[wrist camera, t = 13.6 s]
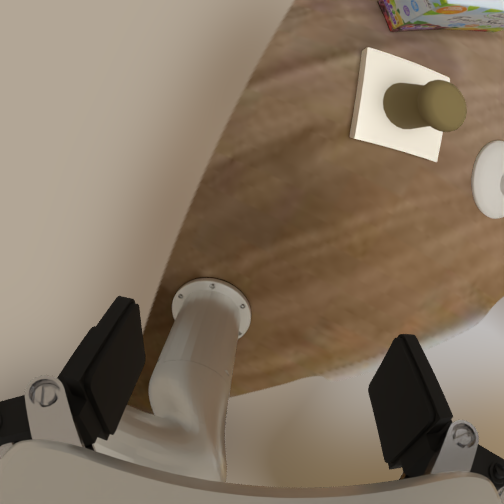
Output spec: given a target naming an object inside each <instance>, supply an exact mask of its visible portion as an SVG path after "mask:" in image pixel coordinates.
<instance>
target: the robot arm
mask: <svg viewBox="0 0 504 504" xmlns="http://www.w3.org/2000/svg"><path fill="white" fill-rule="evenodd" d="M172 314H173V318H174V320H175V322H174V324H173V326H172V328H171V331H170V333H169V335H168V338H167V340H166V342H165V345H164V347H163V350H162V352H161V354H160V357H159V359H158V361H157V364H156V366H155V369H154V371H153V374H152V376H151V379H150V382H149V399H150V403H151V407H152V410H153V412H154V415H152V414H148V413H145V412H143V411H141V410H138V409H136V408H133V407H131V406H129V405H127V403H128V401H129V398H130V396H131V394H132V391H133V389H134V387H135V385H136V382H137V380H138V378H139V375H140V373H141V371H142V369H143V366H144V364H145V351H144V343H143V336H142V328H141V319H140V310H139V305H138V304H135V301H134V299H131V298H126V297H121V296H118V297H117V298H116V299H115V301H114V302H113V303H112V305H111V306H110V308H109V309H108V310H107V312H106V313H105V314H104V316H103V317H102V319H101V320H100V321H99V323H98V324H97V326H96V327H95V326H94V327H92V328H91V329H90V330H89V332H88V333H87V335H86V336H85V337H84V339H83V340H82V342H81V343H80V345H79V346H78V347H77V349H76V350H75V352H74V353H73V355H72V356H71V358H70V359H69V361H68V362H67V364H66V365H65V367H64V368H63V370H62V372H61V373H60V374H59V376H58V378H55V377H53V376H49V375H44V376H39V377H36V378H34V379H33V380H31V381H30V383H29V384H28V385H27V387H26V389H25V395H23V396H20V397H16V398H12V399H8V400H5V401H1V402H0V504H504V459H502V458H500V457H499V456H497V455H495V454H493V453H492V452H490V451H489V450H487V449H485V448H484V447H482V446H480V445H479V444H478V442H479V436H478V432H477V430H476V428H475V427H474V426H473V425H472V424H471V423H469V422H467V421H465V420H457V421H454V422H453V423H452V420H451V419H452V417H453V415H452V413H451V410H450V408H449V406H448V403H447V401H446V399H445V396H444V394H443V392H442V390H441V387H440V385H439V383H438V381H437V379H436V376H435V374H434V372H433V370H432V368H431V366H430V364H429V362H428V360H427V358H426V356H425V354H424V352H423V350H422V348H421V346H420V344H419V342H418V340H417V338H416V336H415V335H411V334H400V335H399V336H398V337H397V338H395V339H394V340H393V342H392V344H391V346H390V348H389V350H388V352H387V354H386V356H385V357H384V359H383V361H382V363H381V365H380V367H379V368H378V370H377V372H376V374H375V376H374V377H373V379H372V381H371V382H370V385H369V388H368V392H369V396H370V400H371V404H372V408H373V412H374V416H375V420H376V424H377V429H378V433H379V438H380V442H381V447H382V451H383V456H384V460H385V462H386V463H388V465H389V469H395V468H401V467H402V468H403V473H402V475H401V477H400V479H399V480H395V481H388V482H381V483H373V484H364V485H354V486H342V487H323V488H322V487H319V488H287V487H264V486H252V485H242V484H241V485H240V484H233V483H226V478H227V461H226V448H225V425H226V414H227V406H228V400H229V393H230V387H231V380H232V374H233V367H234V361H235V354H236V348H237V341H238V339H239V338H241V337H242V336H243V335H244V334H245V333H246V331H247V330H248V328H249V325H250V322H251V308H250V305H249V302H248V301H247V299H246V297H245V296H244V295H243V294H242V292H241V291H240V290H238V289H237V288H236V287H235V286H233V285H231V284H229V283H227V282H225V281H222V280H219V279H214V278H200V279H195V280H192V281H189V282H187V283H186V284H184V285H183V286H182V287H181V288H180V289H179V290H178V291H177V293H176V294H175V297H174V299H173V302H172Z"/></svg>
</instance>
